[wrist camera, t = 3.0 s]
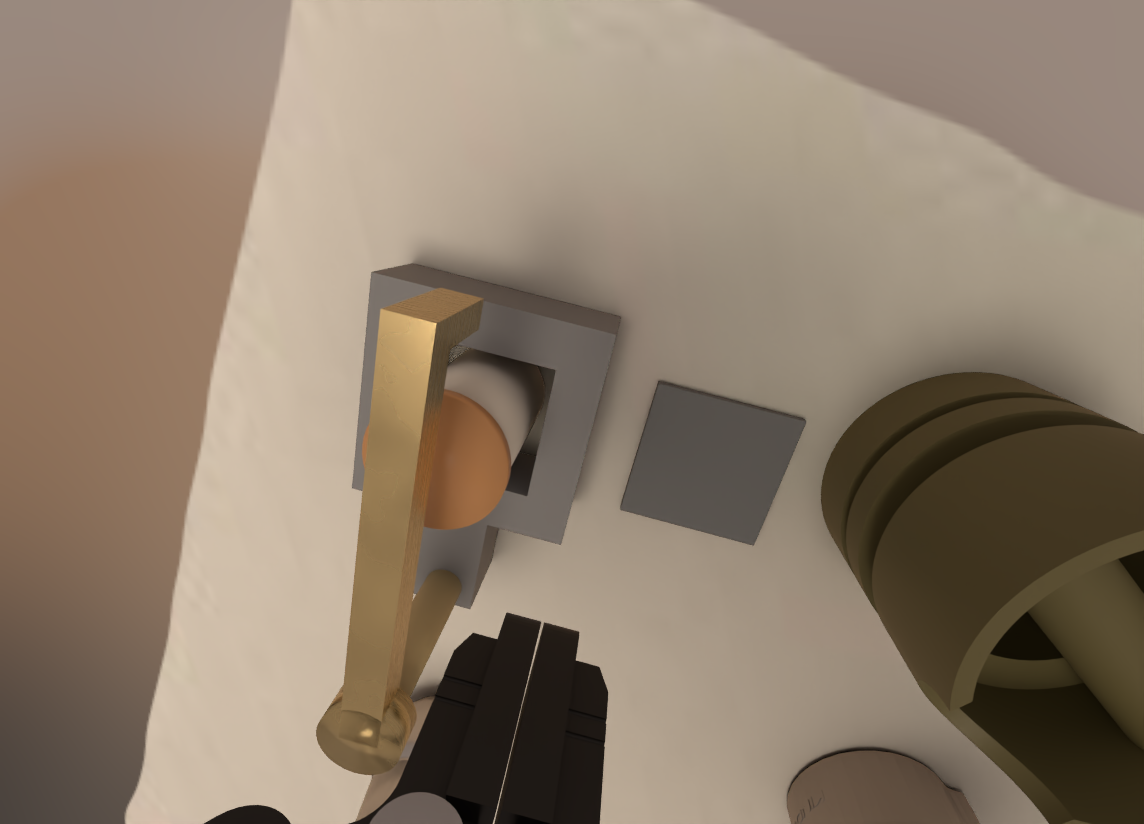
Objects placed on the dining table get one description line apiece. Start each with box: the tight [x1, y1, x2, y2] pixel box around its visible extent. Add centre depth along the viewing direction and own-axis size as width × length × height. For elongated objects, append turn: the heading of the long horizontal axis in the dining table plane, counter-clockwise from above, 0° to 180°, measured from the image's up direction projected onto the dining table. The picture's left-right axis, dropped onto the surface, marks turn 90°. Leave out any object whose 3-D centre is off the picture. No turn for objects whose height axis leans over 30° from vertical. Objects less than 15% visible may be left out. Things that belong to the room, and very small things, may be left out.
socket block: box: [352, 264, 621, 697], centre depth 23 cm, size 10×15×11 cm, turn 167°
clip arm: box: [316, 288, 484, 775], centre depth 18 cm, size 3×16×4 cm, turn 167°
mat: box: [620, 381, 806, 546], centre depth 26 cm, size 7×7×1 cm
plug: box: [362, 348, 545, 530], centre depth 23 cm, size 5×5×9 cm
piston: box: [821, 372, 1144, 824], centre depth 20 cm, size 11×12×11 cm
